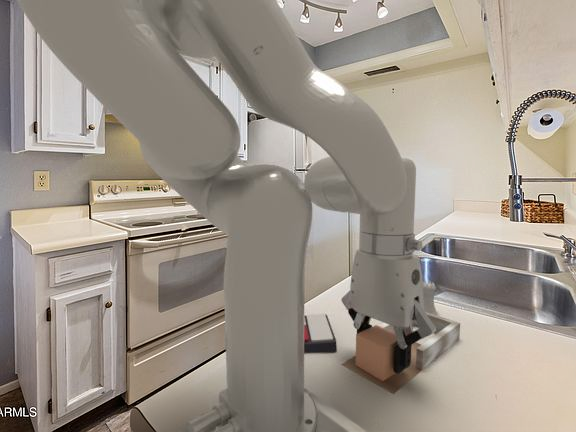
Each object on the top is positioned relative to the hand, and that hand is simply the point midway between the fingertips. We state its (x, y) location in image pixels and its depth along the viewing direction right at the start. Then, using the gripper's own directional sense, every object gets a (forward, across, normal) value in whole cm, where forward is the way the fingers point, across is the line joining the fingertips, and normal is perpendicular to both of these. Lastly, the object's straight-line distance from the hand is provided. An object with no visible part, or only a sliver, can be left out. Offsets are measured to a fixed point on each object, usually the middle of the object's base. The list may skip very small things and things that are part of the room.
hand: (381, 358), depth 48 cm
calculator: (+3, +16, +4) cm, 17 cm away
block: (+1, 0, 0) cm, 1 cm away
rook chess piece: (+3, +5, -25) cm, 25 cm away
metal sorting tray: (+3, 0, -7) cm, 7 cm away
